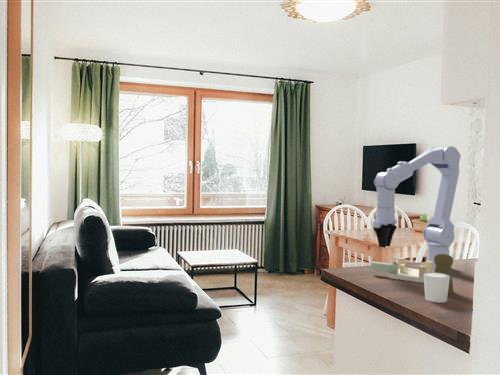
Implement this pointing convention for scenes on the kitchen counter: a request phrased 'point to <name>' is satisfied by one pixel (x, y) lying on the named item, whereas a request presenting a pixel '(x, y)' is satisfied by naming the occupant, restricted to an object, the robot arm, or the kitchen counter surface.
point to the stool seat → (411, 271)
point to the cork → (444, 268)
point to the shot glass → (436, 286)
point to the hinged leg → (385, 267)
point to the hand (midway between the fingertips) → (384, 246)
